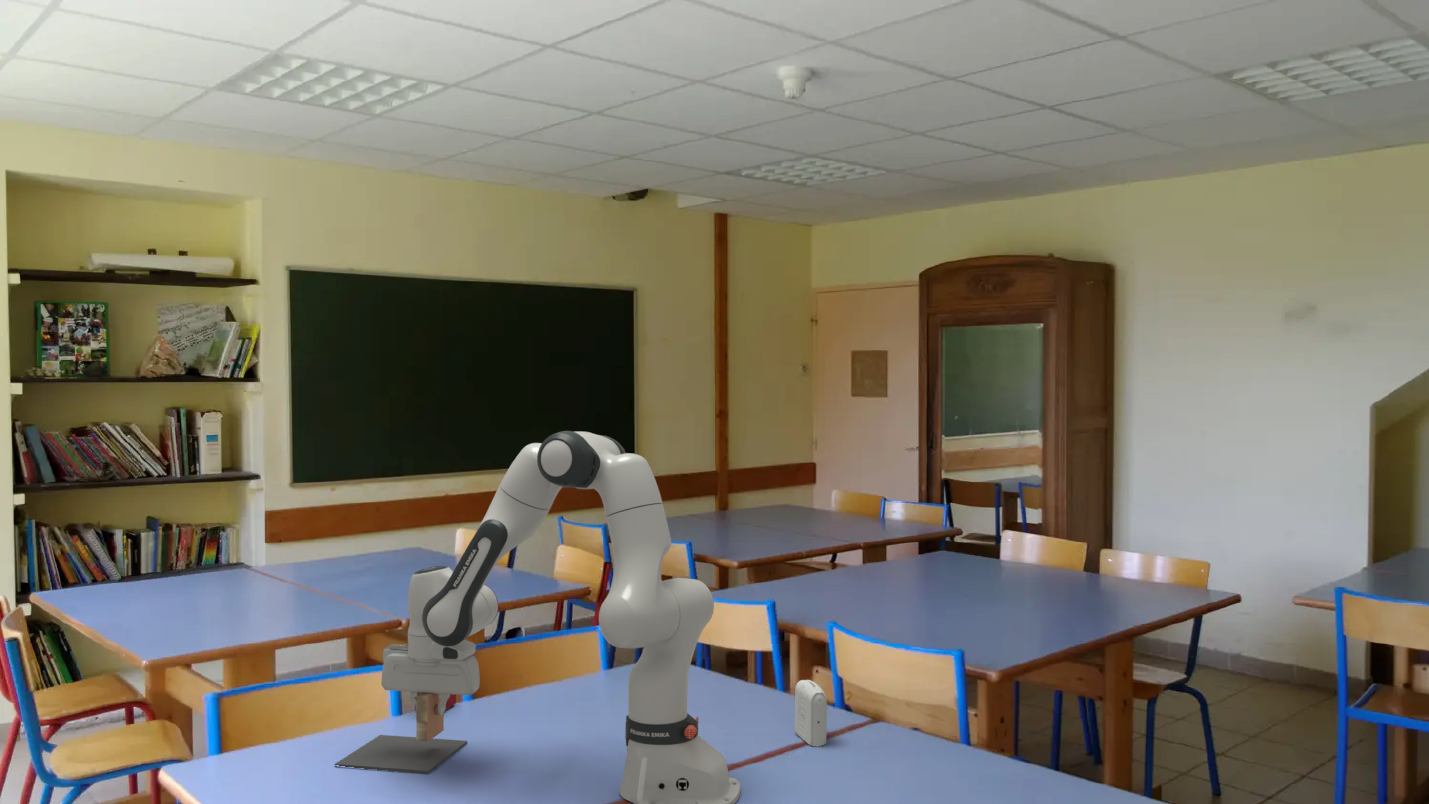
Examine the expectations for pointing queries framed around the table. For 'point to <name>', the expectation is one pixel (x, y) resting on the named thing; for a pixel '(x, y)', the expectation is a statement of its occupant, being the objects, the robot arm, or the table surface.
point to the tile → (428, 717)
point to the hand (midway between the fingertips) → (430, 713)
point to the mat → (402, 754)
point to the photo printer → (810, 713)
